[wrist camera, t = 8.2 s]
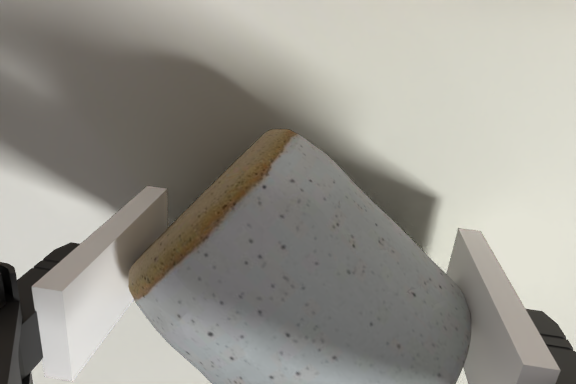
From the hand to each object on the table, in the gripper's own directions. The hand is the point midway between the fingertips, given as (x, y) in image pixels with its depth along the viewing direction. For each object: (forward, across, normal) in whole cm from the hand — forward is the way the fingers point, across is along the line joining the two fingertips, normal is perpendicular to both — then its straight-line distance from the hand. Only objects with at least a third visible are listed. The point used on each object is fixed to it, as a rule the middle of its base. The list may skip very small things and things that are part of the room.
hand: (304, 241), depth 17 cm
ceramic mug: (+1, -1, -2) cm, 2 cm away
